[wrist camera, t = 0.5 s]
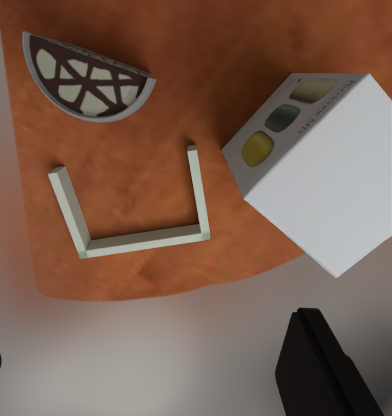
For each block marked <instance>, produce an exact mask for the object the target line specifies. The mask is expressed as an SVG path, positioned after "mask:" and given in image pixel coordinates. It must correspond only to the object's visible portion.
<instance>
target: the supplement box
mask: <svg viewBox="0 0 392 416" xmlns="http://www.w3.org/2000/svg"><path fill="white" fill-rule="evenodd" d="M222 152H223V155H224V157H225V159H226V161H227V163H228V166H229V168H230V170H231V172H232V174H233V176H234V179H235V181H236V183H237V185H238V187H239V190H240V192H241V194H242V196H243V198H244V200H245V201H247V202H248V203H249V204H250V205H252V206H253V207H254V208H255V209H256V210H257V211H259V212H260V213H261V214H262V215H263V216H265V217H266V218H267V219H268V220H269V221H271V222H272V223H273V224H274V225H275V226H276V227H278V228H279V229H280V230H281V231H282V232H283V233H284V234H286V235H287V236H288V237H289V238H290V239H291V240H292V241H294V242H295V243H296V244H297V245H298V246H299V247H300V248H302V249H303V250H304V251H305V252H306V253H307V254H308V255H310V256H311V257H312V258H313V259H314V260H315V261H316V262H318V263H319V264H320V265H321V266H322V267H323V268H324V269H326V270H327V271H328V272H329V273H330V274H332V275H333V276H334V277H335V278H336V277H339V276H340V275H341V274H342V273H344V272H345V271H346V270H347V269H349V268H350V267H351V266H353V265H354V264H355V263H356V262H358V261H359V260H360V259H362V258H363V257H364V256H365V255H367V254H368V253H369V252H370V251H371V250H373V249H374V248H376V247H377V246H378V245H379V244H381V243H382V242H383V241H384V240H386V239H388V238H389V237H391V236H392V100H391V99H390V98H389V97H388V95H387V94H386V93H385V92H384V91H383V89H382V88H381V87H380V86H379V85H378V83H377V82H376V81H375V80H374V78H373V77H372V76H371V74H370V73H367V74H341V73H292V74H291V75H290V76H289V77H288V78H287V79H286V80H285V81H284V82H283V83H282V84H281V85H280V86H279V87H278V89H277V90H276V91H275V92H274V93H273V94H272V95H271V96H270V97H269V98H268V99H267V101H266V102H265V103H264V104H263V105H262V106H261V107H260V108H259V109H258V110H257V111H256V112H255V114H254V115H253V116H252V117H251V118H250V119H249V120H248V121H247V122H246V123H245V124H244V126H243V127H242V128H241V129H240V130H239V131H238V132H237V133H236V134H235V135H234V136H233V138H232V139H231V140H230V141H229V142H228V143H227V144H226V145H225V146H224V147H223V149H222Z"/></svg>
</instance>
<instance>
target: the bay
mask: <svg viewBox="0 0 392 416" xmlns="http://www.w3.org/2000/svg"><path fill="white" fill-rule="evenodd" d="M187 152H188V158H189V164H190V170H191V176H192V182H193V187H194V193H195V199H196V205H197V211H198V217H199V222H200V224H195V225H188V226H182V227H175V228H169V229H162V230H155V231H149V232H142V233H136V234H129V235H122V236H116V237H109V238H103V239H96V240H91V237H90V234H89V231H88V228H87V225H86V223H85V220H84V217H83V214H82V211H81V208H80V206H79V203H78V200H77V197H76V194H75V191H74V189H73V186H72V183H71V180H70V177H69V174H68V172H67V169H66V166H62V167H57V168H55V169H54V170H53V171H51V172H50V173H49V174H48V176H49V179H50V181H51V184H52V186H53V189H54V192H55V194H56V197H57V199H58V202H59V205H60V207H61V210H62V213H63V215H64V218H65V220H66V223H67V226H68V228H69V231H70V233H71V236H72V239H73V241H74V244H75V246H76V249H77V252H78V254H79V257H80V259H82V258H89V257H96V256H102V255H109V254H116V253H123V252H129V251H136V250H143V249H149V248H156V247H163V246H169V245H176V244H183V243H189V242H196V241H203V240H209V239H211V237H210V230H209V224H208V217H207V211H206V205H205V198H204V192H203V186H202V179H201V173H200V166H199V160H198V154H197V147H196V145H191V146H187Z"/></svg>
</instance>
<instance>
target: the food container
mask: <svg viewBox="0 0 392 416" xmlns="http://www.w3.org/2000/svg"><path fill="white" fill-rule="evenodd" d="M22 42H23V50H24V55H25V59H26V63H27V66H28V68H29V71H30V73H31V75H32V77H33V79H34V80H35V82H36V84H37V85H38V87H39V88H40V89H41V91H42V92H43V94H44V95H45V96H46V97H47V98H48V99H49V100H50V101H51V102H52V103H53V104H55V105H56V106H57V107H58V108H60V109H61V110H63V111H64V112H66V113H68V114H70V115H72V116H74V117H77V118H79V119H83V120H87V121H92V122H101V123H102V122H113V121H117V120H120V119H123V118H125V117H127V116H129V115H131V114H132V113H134V112H135V111H137V110H138V109H139V108H140V107H141V106H142V105H143V104H144V103H145V101H146V100H147V99H148V97H149V96H150V94H151V92H152V90H153V88H154V85H155V82H156V79H153V78H150V75H151V74H150V73H148V72H145V71H142V70H140V69H137V68H134V67H132V66H129V65H126V64H124V63H121V62H118V61H116V60H113V59H110V58H107V57H105V56H102V55H99V54H97V53H94V52H91V51H89V50H86V49H83V48H81V47H78V46H75V45H72V44H68V43H65V42H61V41H57V40H54V39H50V38H46V37H43V36H39V35H35V34H31V33H30V32H26V31H23V36H22Z"/></svg>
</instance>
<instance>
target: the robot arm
mask: <svg viewBox="0 0 392 416" xmlns="http://www.w3.org/2000/svg"><path fill="white" fill-rule="evenodd" d="M1 362H2V361H1V355H0V367H1ZM275 377H276V383H277V386H278V389H279V393H280V396H281V400H282V403H283V407H284V409H285V413H286V416H384V415H383V413H382V411H381V409H380V408H379V406H378V404H377V402H376V401H375V399H374V397H373V396H372V394H371V392H370V390H369V389H368V387H367V385H366V384H365V382H364V380H363V378H362V377H361V375H360V373H359V371H358V370H357V368H356V366H355V365H354V363H353V361H352V360H351V359H350V357H348V356H347V355H345V354H344V352H343V350H342V348H341V346H340V345H339V343H338V341H337V339H336V338H335V336H334V334H333V332H332V330H331V329H330V327H329V325H328V323H327V322H326V320H325V318H324V316H323V315H322V313H321V311H320V310H319V309H316V308H299V309H298V310H297V312H293V313H292V315H291V319H290V322H289V325H288V329H287V332H286V336H285V339H284V342H283V346H282V350H281V353H280V356H279V360H278V363H277V366H276V371H275Z"/></svg>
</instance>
